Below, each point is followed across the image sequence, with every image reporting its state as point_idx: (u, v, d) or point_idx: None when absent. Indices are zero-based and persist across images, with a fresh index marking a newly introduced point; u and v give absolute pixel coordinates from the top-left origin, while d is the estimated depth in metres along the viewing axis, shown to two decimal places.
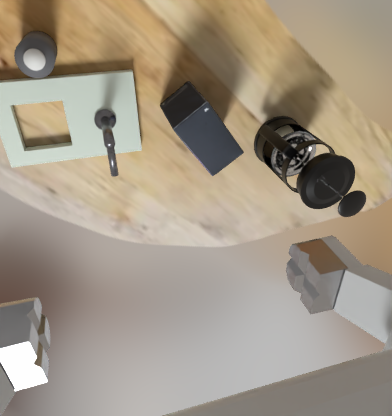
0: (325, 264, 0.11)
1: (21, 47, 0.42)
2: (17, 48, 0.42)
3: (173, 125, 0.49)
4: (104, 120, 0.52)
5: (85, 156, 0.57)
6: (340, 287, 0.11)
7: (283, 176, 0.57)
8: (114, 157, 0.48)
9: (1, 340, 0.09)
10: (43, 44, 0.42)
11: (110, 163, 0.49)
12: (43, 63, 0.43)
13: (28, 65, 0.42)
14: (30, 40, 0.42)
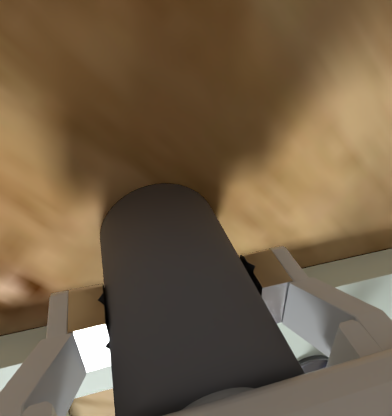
0: (270, 276, 0.10)
1: (162, 401, 0.07)
2: (141, 410, 0.07)
3: None
4: None
5: None
6: (286, 300, 0.11)
7: None
8: None
9: (78, 322, 0.09)
10: (281, 363, 0.07)
11: None
12: None
13: None
14: (222, 366, 0.07)
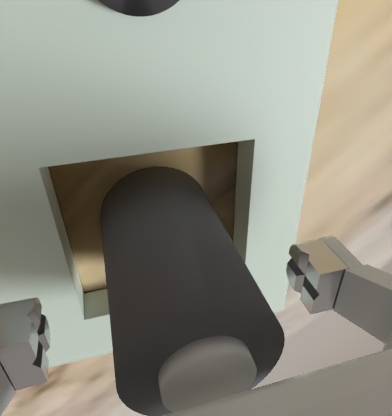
0: (325, 264, 0.11)
1: (154, 345, 0.08)
2: (136, 352, 0.08)
3: None
4: None
5: (317, 87, 0.12)
6: (340, 287, 0.11)
7: None
8: None
9: (1, 340, 0.09)
10: (258, 314, 0.08)
11: None
12: (244, 386, 0.09)
13: (178, 406, 0.09)
14: (206, 313, 0.08)
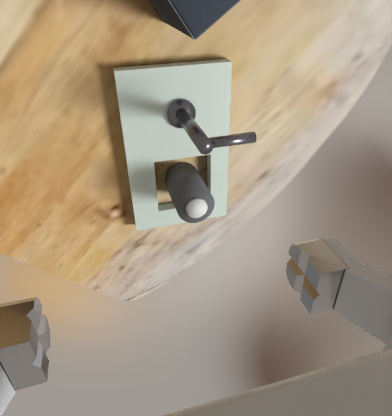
0: (325, 264, 0.11)
1: (185, 197, 0.39)
2: (181, 199, 0.39)
3: (189, 35, 0.28)
4: (179, 121, 0.38)
5: None
6: (340, 287, 0.11)
7: None
8: (227, 139, 0.33)
9: (1, 340, 0.09)
10: (207, 193, 0.40)
11: (235, 144, 0.33)
12: (205, 211, 0.40)
13: (190, 214, 0.40)
14: (196, 191, 0.39)
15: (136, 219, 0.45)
